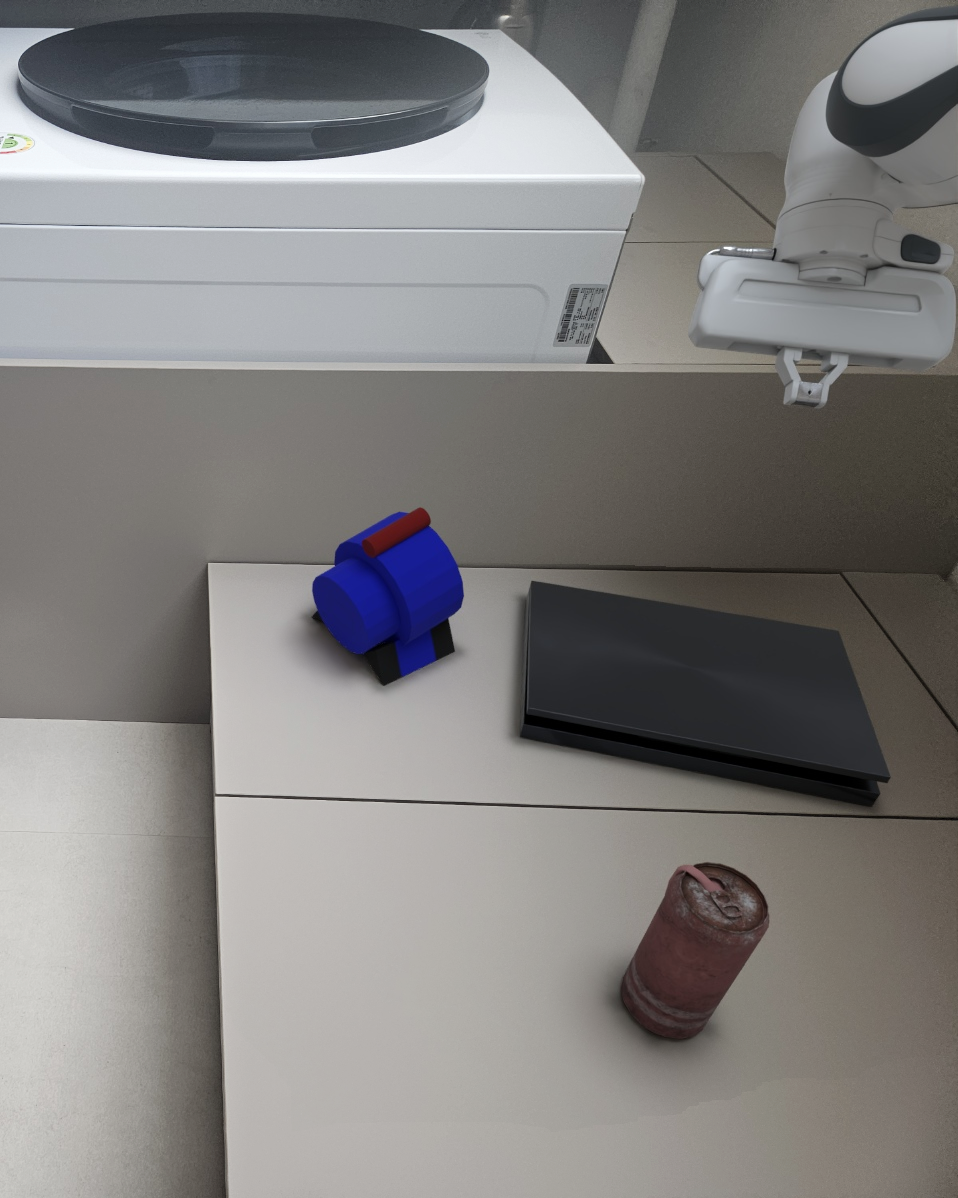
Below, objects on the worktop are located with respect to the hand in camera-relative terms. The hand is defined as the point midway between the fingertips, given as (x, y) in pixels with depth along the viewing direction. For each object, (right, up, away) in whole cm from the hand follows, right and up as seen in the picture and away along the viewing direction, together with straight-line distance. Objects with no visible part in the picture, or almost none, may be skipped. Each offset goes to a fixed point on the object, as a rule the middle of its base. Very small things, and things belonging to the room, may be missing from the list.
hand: (804, 405), depth 91 cm
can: (-19, -48, -13) cm, 53 cm away
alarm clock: (-34, -21, +18) cm, 44 cm away
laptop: (-5, -26, +11) cm, 29 cm away
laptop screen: (-5, -24, +10) cm, 27 cm away
